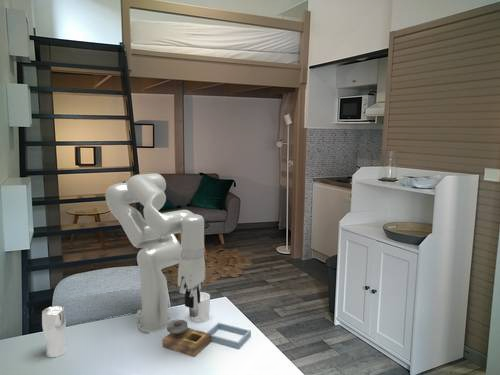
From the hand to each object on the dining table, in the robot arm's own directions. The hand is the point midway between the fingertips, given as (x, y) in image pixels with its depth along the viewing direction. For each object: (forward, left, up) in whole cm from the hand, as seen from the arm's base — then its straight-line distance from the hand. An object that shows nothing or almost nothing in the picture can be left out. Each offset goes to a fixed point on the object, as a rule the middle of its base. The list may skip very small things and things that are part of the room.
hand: (192, 304), depth 130 cm
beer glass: (-40, -22, -16) cm, 48 cm away
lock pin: (0, 0, -4) cm, 4 cm away
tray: (+8, +10, -16) cm, 20 cm away
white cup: (-9, +18, -16) cm, 26 cm away
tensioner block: (-3, 0, -16) cm, 16 cm away
